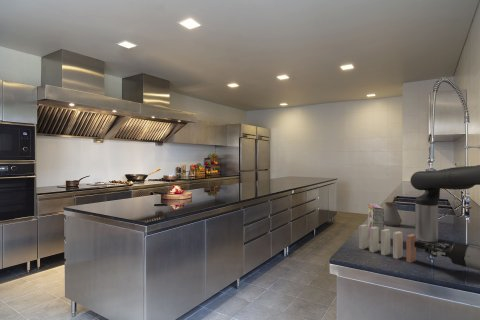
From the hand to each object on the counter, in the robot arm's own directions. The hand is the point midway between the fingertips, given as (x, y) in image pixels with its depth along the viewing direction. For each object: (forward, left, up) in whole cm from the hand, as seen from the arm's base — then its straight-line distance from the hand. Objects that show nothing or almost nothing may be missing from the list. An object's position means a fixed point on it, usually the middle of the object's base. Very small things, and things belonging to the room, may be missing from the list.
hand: (415, 243), depth 112 cm
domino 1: (0, -22, -7) cm, 23 cm away
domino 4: (0, -7, -7) cm, 10 cm away
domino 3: (0, -12, -7) cm, 13 cm away
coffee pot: (-58, -38, -7) cm, 70 cm away
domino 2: (0, -17, -7) cm, 18 cm away
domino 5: (0, -2, -7) cm, 7 cm away
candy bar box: (-17, -26, -7) cm, 32 cm away
